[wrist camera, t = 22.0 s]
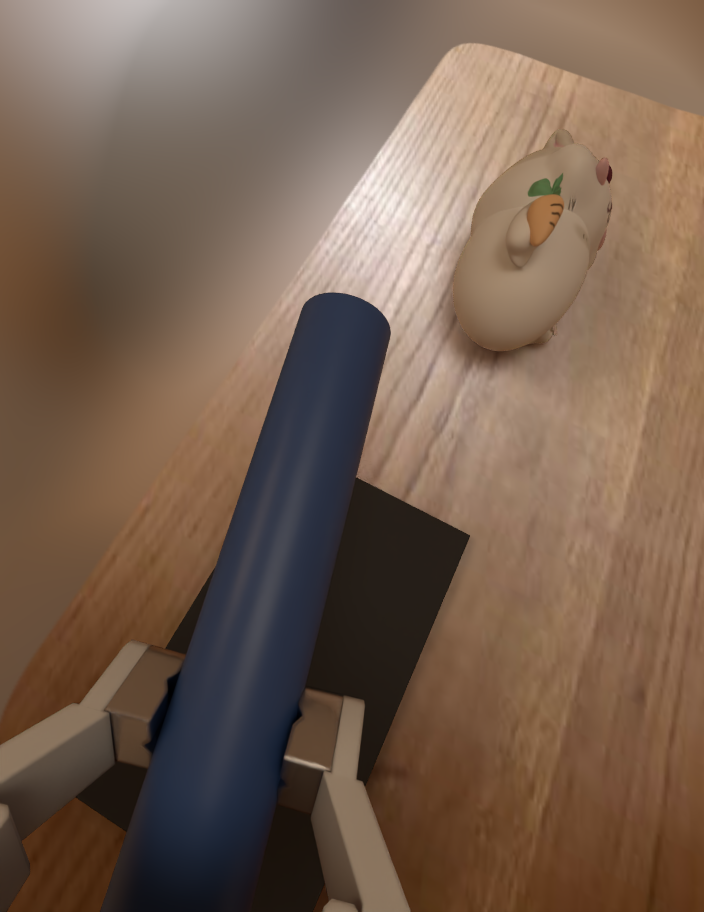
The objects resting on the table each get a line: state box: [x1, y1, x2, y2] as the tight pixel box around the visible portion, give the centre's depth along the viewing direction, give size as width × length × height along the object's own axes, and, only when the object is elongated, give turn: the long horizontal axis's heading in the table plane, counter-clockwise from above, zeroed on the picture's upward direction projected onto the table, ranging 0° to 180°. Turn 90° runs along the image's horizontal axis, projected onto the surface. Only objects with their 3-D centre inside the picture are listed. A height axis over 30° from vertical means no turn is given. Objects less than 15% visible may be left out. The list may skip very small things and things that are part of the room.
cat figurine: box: [453, 129, 612, 351], centre depth 26 cm, size 10×8×15 cm
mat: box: [76, 478, 470, 912], centre depth 22 cm, size 20×12×1 cm, turn 152°
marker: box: [100, 293, 391, 912], centre depth 10 cm, size 3×3×17 cm
